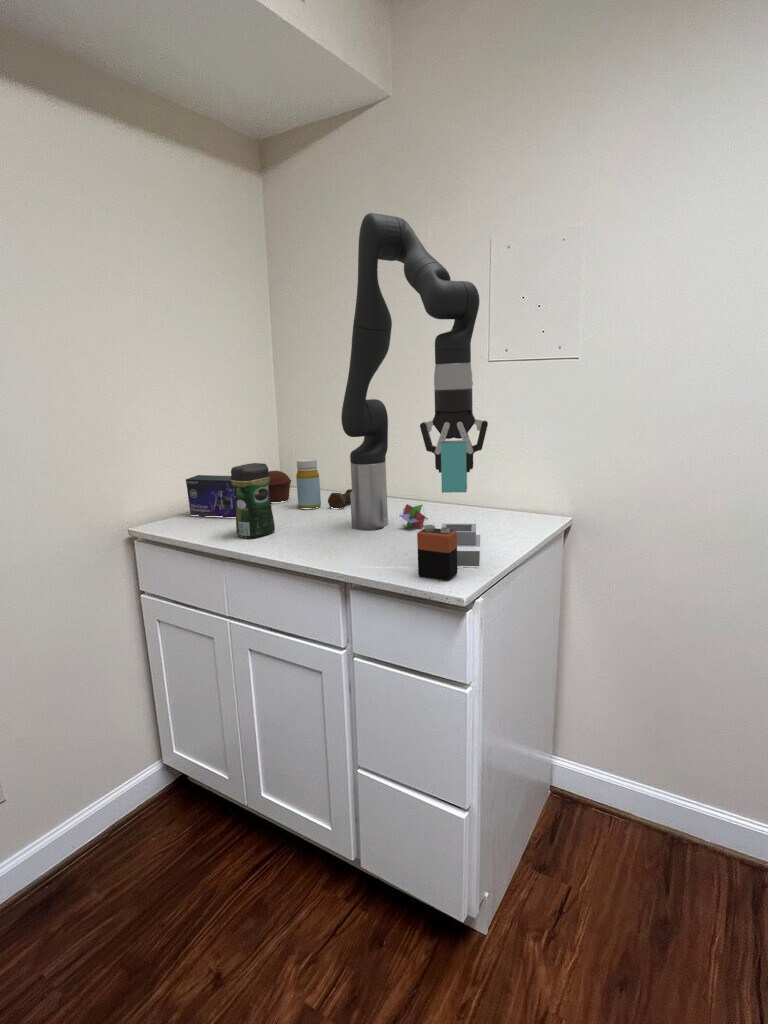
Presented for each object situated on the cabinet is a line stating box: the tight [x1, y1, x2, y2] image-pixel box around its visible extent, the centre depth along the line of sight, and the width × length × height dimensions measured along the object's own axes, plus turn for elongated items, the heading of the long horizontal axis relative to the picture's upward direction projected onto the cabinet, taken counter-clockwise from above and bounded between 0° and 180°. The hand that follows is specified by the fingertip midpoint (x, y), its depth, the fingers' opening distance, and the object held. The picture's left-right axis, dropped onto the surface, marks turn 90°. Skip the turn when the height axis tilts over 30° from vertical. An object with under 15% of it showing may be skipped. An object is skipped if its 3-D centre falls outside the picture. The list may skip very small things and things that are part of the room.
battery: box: [416, 524, 458, 581], centre depth 113 cm, size 4×7×10 cm, turn 59°
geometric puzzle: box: [399, 503, 429, 530], centre depth 149 cm, size 7×7×8 cm
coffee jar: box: [230, 462, 276, 538], centre depth 149 cm, size 10×8×19 cm
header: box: [440, 523, 481, 548], centre depth 136 cm, size 10×10×4 cm
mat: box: [457, 550, 481, 569], centre depth 123 cm, size 10×10×1 cm
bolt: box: [327, 488, 352, 509], centre depth 184 cm, size 6×5×15 cm
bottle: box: [295, 458, 322, 509], centre depth 180 cm, size 7×7×15 cm
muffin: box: [268, 470, 292, 502], centre depth 192 cm, size 12×11×10 cm
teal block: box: [440, 439, 468, 494], centre depth 119 cm, size 5×5×10 cm
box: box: [185, 474, 236, 517], centre depth 174 cm, size 17×7×12 cm, turn 72°
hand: (454, 471), depth 119 cm, fingers closed on teal block, 5 cm apart
